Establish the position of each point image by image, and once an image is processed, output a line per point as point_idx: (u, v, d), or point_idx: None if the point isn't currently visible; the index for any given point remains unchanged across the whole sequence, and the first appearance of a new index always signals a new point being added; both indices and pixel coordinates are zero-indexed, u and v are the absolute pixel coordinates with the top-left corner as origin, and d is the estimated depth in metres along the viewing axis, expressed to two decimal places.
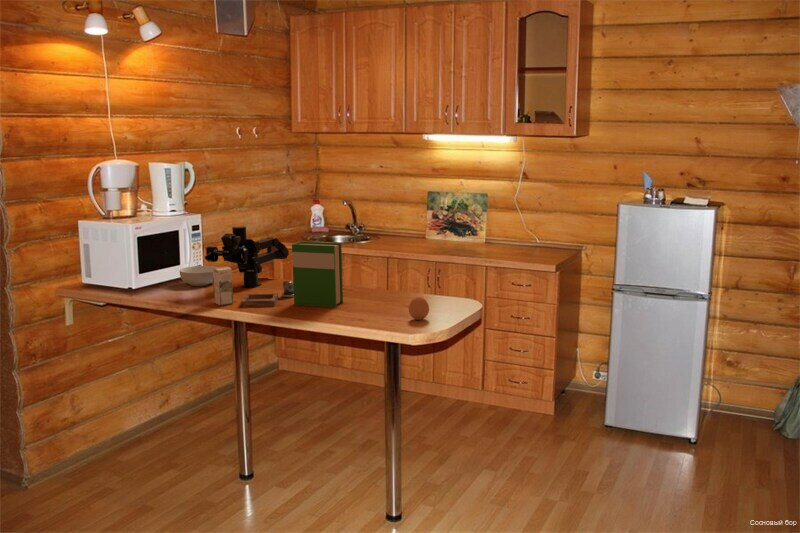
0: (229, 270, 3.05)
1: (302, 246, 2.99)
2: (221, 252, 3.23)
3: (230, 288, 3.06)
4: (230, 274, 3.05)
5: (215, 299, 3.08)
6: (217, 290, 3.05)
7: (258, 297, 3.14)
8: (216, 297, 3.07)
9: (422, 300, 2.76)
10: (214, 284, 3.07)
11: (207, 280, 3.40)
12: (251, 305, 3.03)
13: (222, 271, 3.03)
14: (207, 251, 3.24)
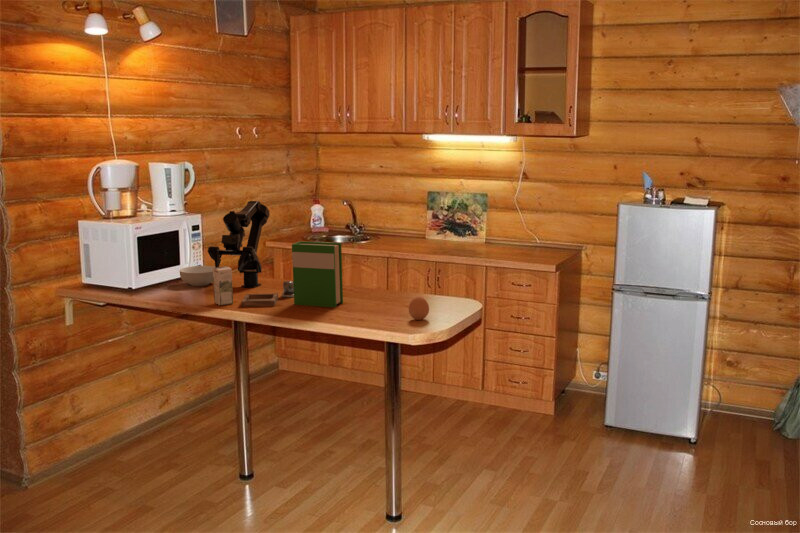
0: (229, 270, 3.05)
1: (302, 246, 2.99)
2: (225, 251, 3.16)
3: (230, 288, 3.06)
4: (230, 274, 3.05)
5: (215, 299, 3.08)
6: (217, 290, 3.05)
7: (258, 297, 3.14)
8: (216, 297, 3.07)
9: (422, 300, 2.76)
10: (214, 284, 3.07)
11: (207, 280, 3.40)
12: (251, 305, 3.03)
13: (222, 271, 3.03)
14: (209, 253, 3.16)
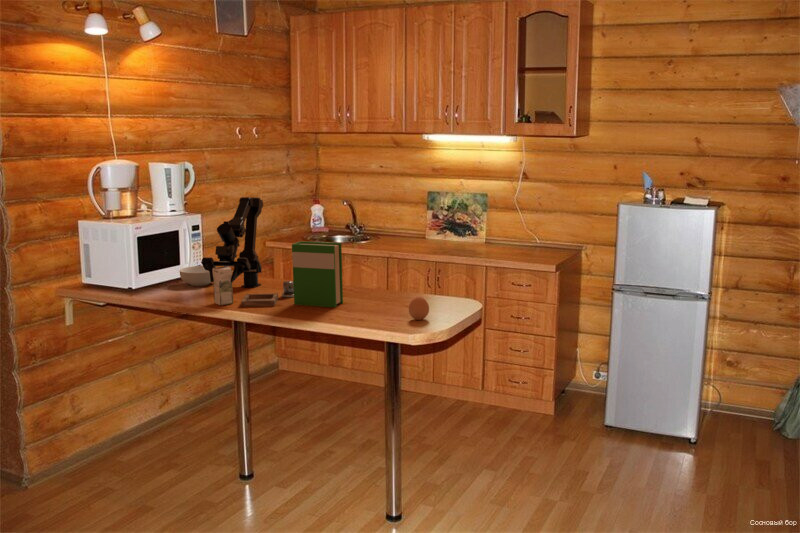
0: (229, 270, 3.05)
1: (302, 246, 2.99)
2: (219, 262, 3.10)
3: (230, 288, 3.06)
4: (230, 274, 3.05)
5: (215, 299, 3.08)
6: (217, 290, 3.05)
7: (258, 297, 3.14)
8: (216, 297, 3.07)
9: (422, 300, 2.76)
10: (214, 284, 3.07)
11: (207, 280, 3.40)
12: (251, 305, 3.03)
13: (222, 271, 3.03)
14: (203, 264, 3.10)
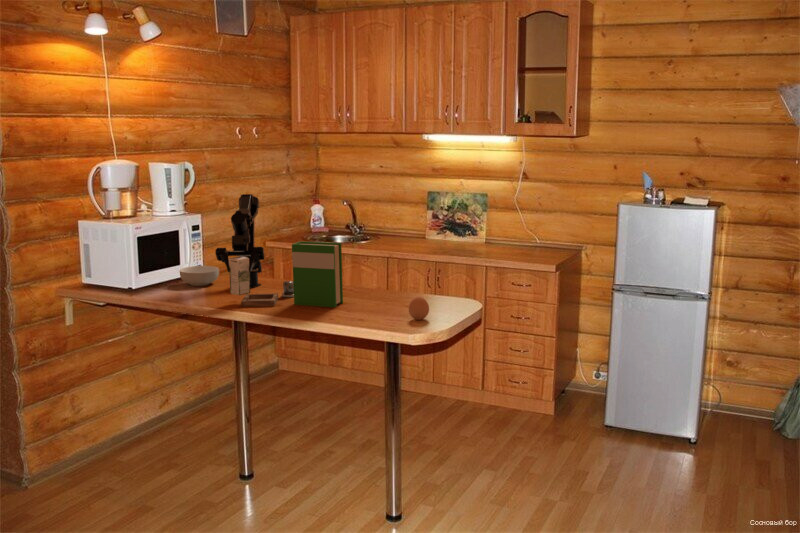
0: (247, 259, 3.04)
1: (302, 246, 2.99)
2: (233, 252, 3.08)
3: (248, 277, 3.06)
4: (248, 263, 3.05)
5: (232, 289, 3.06)
6: (235, 280, 3.03)
7: (258, 297, 3.14)
8: (233, 287, 3.05)
9: (422, 300, 2.76)
10: (231, 274, 3.05)
11: (207, 280, 3.40)
12: (251, 305, 3.03)
13: (241, 261, 3.02)
14: (217, 254, 3.07)
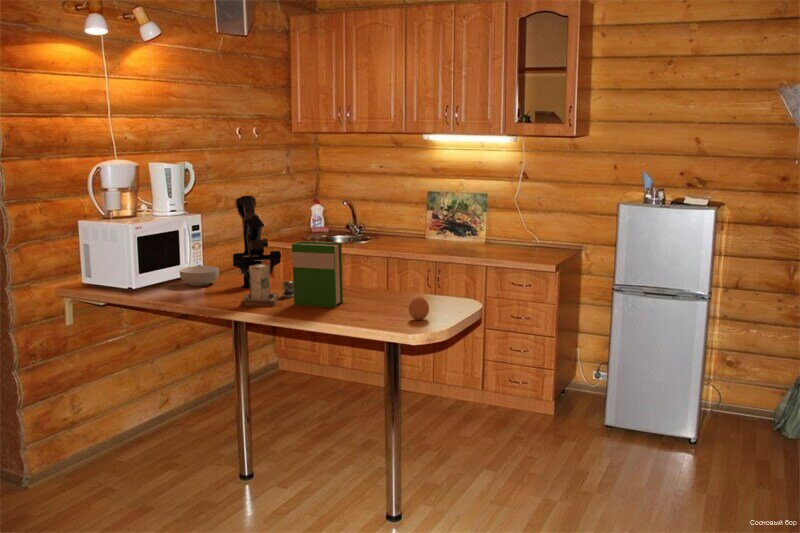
0: (267, 267, 3.07)
1: (302, 246, 2.99)
2: (250, 257, 3.09)
3: (268, 284, 3.08)
4: (268, 270, 3.08)
5: (252, 297, 3.07)
6: (257, 287, 3.05)
7: None
8: (253, 294, 3.06)
9: (422, 300, 2.76)
10: (251, 282, 3.06)
11: (207, 280, 3.40)
12: (251, 305, 3.03)
13: (263, 268, 3.05)
14: (234, 260, 3.06)
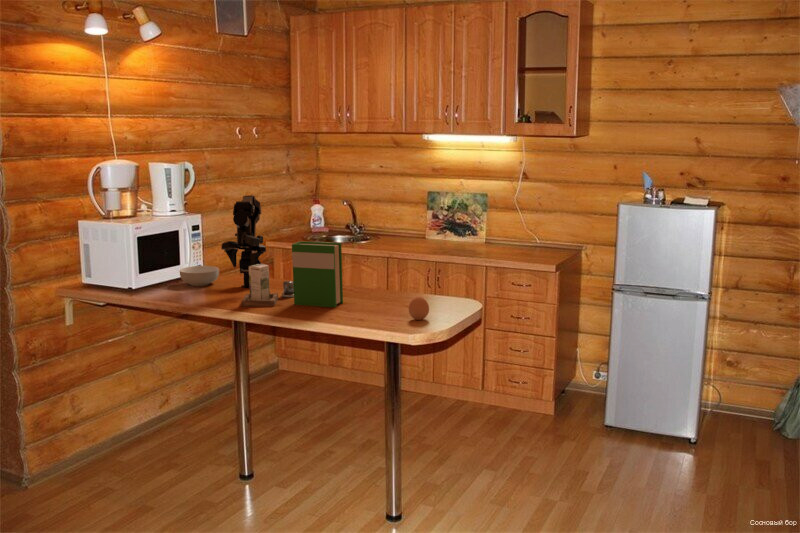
0: (267, 267, 3.07)
1: (302, 246, 2.99)
2: (240, 246, 3.18)
3: (268, 285, 3.08)
4: (268, 271, 3.07)
5: (252, 297, 3.07)
6: (257, 288, 3.05)
7: None
8: (253, 295, 3.06)
9: (422, 300, 2.76)
10: (251, 282, 3.06)
11: (207, 280, 3.40)
12: (251, 305, 3.03)
13: (262, 268, 3.04)
14: (228, 247, 3.13)
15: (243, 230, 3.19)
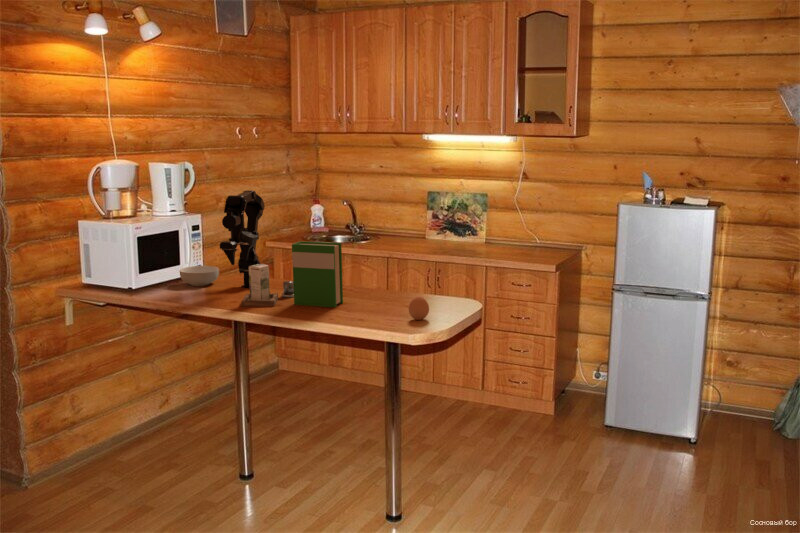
0: (267, 267, 3.07)
1: (302, 246, 2.99)
2: (236, 243, 3.20)
3: (268, 285, 3.08)
4: (268, 271, 3.07)
5: (252, 297, 3.07)
6: (257, 288, 3.05)
7: None
8: (253, 295, 3.06)
9: (422, 300, 2.76)
10: (251, 282, 3.06)
11: (207, 280, 3.40)
12: (251, 305, 3.03)
13: (262, 268, 3.04)
14: (228, 248, 3.14)
15: (239, 227, 3.19)
